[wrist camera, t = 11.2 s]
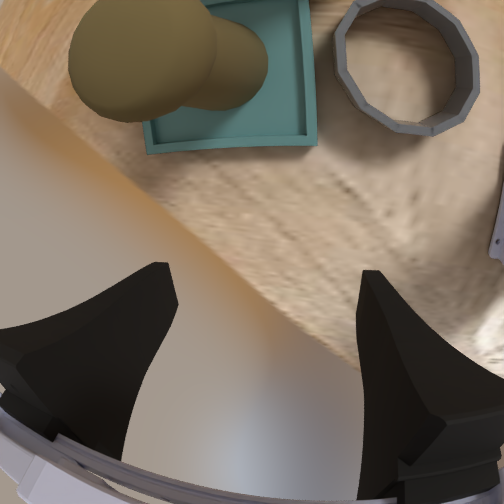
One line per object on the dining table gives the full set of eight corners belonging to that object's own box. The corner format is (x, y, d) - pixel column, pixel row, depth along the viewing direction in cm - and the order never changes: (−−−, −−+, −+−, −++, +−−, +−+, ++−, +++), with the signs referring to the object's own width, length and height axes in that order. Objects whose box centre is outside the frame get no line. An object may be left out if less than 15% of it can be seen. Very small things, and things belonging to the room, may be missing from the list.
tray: (317, 142, 18) (317, 145, 17) (155, 151, 20) (146, 154, 19) (307, -8, 13) (306, -14, 12) (141, 19, 15) (132, 16, 14)
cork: (238, 128, 18) (151, 177, 8) (158, 87, 17) (26, 107, 8) (287, 45, 15) (252, -15, 5) (200, 7, 14) (88, -48, 5)
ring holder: (460, 136, 15) (477, 143, 13) (336, 124, 17) (339, 128, 15) (456, 15, 11) (472, 8, 9) (327, -5, 13) (329, -18, 11)
